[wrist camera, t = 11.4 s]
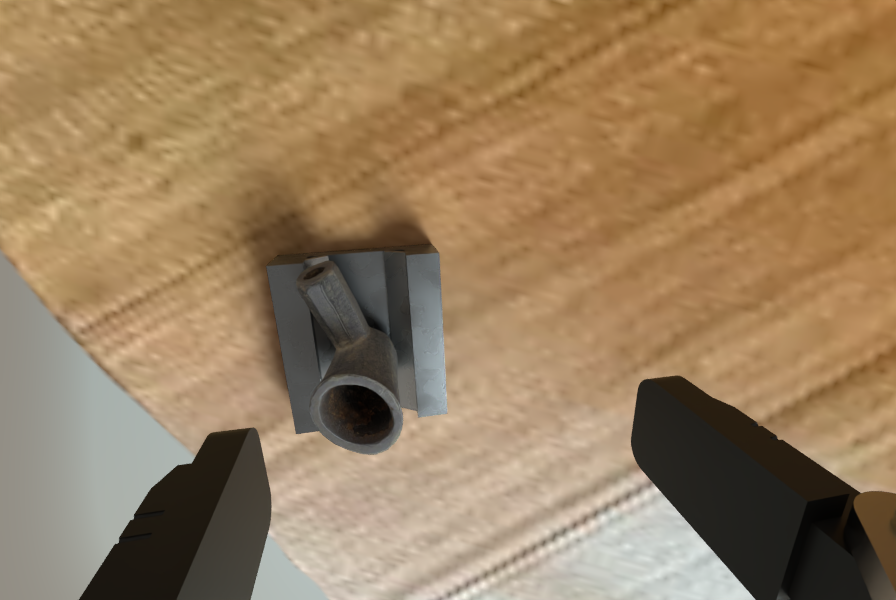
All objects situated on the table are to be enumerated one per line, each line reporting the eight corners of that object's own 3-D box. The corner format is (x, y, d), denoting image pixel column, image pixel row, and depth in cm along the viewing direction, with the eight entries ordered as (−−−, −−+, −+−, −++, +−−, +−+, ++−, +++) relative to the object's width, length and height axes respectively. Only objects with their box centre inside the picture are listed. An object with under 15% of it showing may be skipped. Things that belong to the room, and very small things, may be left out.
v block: (277, 255, 34) (266, 266, 30) (431, 244, 36) (439, 252, 32) (303, 407, 38) (296, 434, 34) (440, 390, 40) (447, 413, 36)
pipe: (355, 245, 31) (336, 291, 24) (419, 374, 37) (420, 443, 30) (282, 273, 32) (243, 326, 25) (356, 396, 38) (341, 468, 31)
